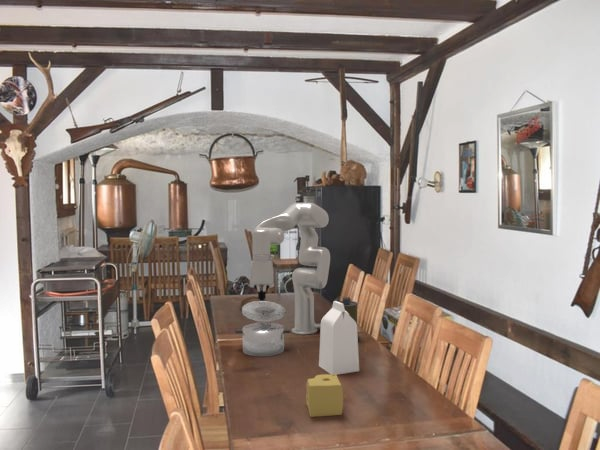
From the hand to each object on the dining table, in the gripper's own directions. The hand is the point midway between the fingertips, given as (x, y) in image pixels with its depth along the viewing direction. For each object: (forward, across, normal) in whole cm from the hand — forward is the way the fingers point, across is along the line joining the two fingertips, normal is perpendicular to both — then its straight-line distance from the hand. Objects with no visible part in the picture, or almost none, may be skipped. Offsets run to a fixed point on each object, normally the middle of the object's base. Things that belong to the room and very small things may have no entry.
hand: (261, 300), depth 231 cm
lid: (+6, 0, -5) cm, 8 cm away
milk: (+23, -32, +21) cm, 45 cm away
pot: (+22, 0, -3) cm, 23 cm away
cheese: (+23, -26, +61) cm, 70 cm away
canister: (+22, -37, -19) cm, 47 cm away
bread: (+22, +12, -77) cm, 81 cm away
